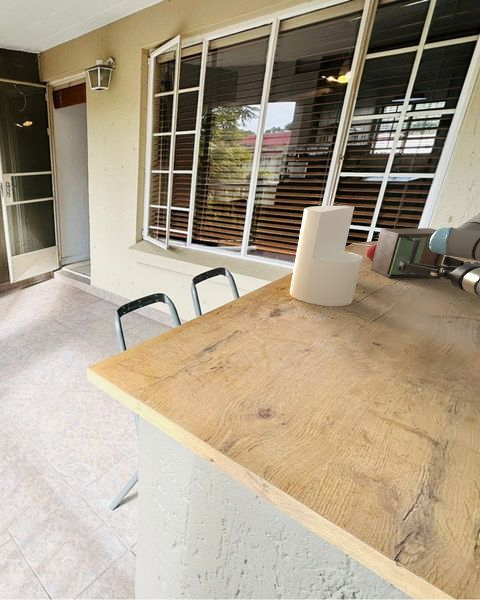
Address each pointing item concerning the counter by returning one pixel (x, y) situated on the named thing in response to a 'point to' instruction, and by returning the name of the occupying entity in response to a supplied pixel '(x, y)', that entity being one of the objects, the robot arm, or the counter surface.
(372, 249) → the onion
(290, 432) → the counter surface
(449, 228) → the robot arm
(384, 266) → the cabinet
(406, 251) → the door
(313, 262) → the cream stepped cylinder
